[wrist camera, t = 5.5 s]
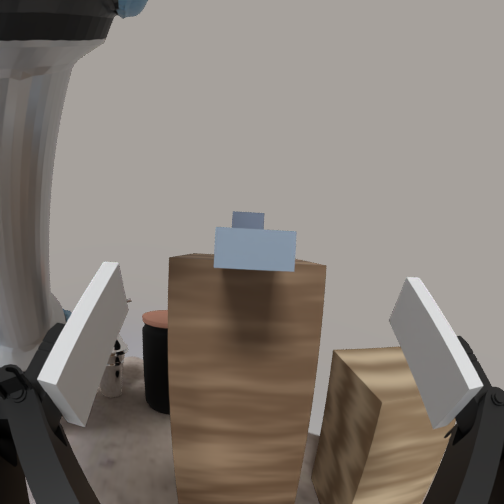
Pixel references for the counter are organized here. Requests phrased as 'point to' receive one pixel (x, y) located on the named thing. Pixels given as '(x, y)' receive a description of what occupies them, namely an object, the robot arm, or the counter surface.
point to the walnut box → (241, 378)
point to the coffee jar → (156, 360)
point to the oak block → (375, 432)
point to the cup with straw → (114, 369)
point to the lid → (254, 245)
